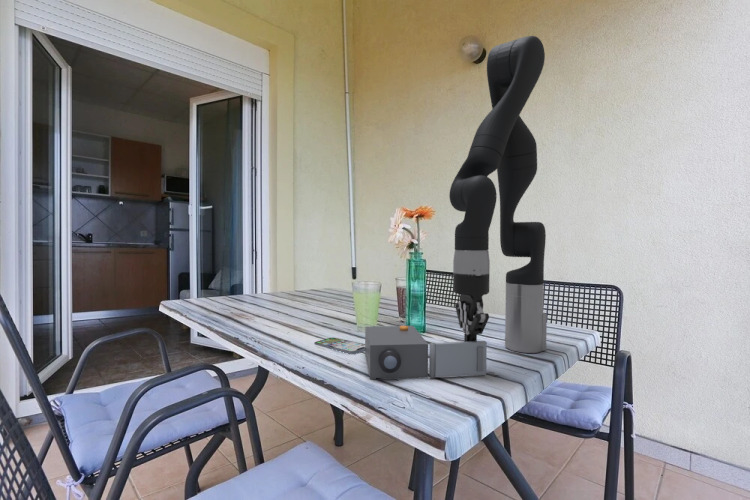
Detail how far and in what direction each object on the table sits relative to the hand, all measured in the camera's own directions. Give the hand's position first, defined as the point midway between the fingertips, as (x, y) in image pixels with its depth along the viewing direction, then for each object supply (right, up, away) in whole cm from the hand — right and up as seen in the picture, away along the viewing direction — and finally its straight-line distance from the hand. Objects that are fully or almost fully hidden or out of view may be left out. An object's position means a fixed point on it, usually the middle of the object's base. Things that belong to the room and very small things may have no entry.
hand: (470, 351), depth 78 cm
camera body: (-16, -4, +4) cm, 17 cm away
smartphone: (-30, -5, +19) cm, 35 cm away
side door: (-3, -4, -3) cm, 6 cm away
